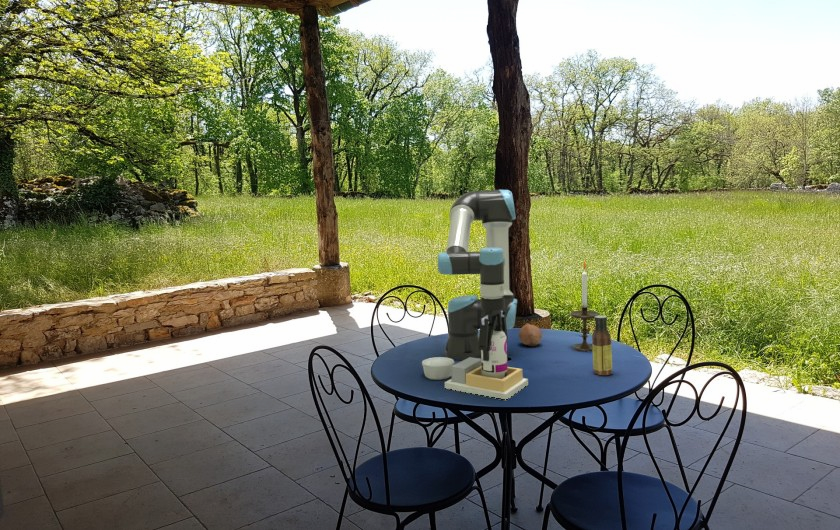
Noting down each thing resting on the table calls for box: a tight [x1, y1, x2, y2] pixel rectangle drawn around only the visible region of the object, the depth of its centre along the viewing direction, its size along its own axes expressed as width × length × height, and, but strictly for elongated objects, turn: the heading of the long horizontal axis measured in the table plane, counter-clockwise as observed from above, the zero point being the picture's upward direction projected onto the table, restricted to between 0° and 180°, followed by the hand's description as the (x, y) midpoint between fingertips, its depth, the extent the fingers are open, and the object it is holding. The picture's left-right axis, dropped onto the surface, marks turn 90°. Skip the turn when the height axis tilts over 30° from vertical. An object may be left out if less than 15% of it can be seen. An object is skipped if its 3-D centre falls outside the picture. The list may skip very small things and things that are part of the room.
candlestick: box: [569, 261, 600, 353], centre depth 213 cm, size 11×11×35 cm
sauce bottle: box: [591, 314, 613, 376], centre depth 183 cm, size 6×6×20 cm
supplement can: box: [480, 330, 508, 379], centre depth 172 cm, size 8×8×15 cm
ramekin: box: [421, 356, 455, 381], centre depth 188 cm, size 11×11×5 cm
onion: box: [518, 322, 543, 347], centre depth 222 cm, size 10×9×10 cm
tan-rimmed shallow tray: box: [444, 357, 529, 401], centre depth 175 cm, size 22×16×7 cm
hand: (494, 366), depth 173 cm, fingers closed on supplement can, 8 cm apart
